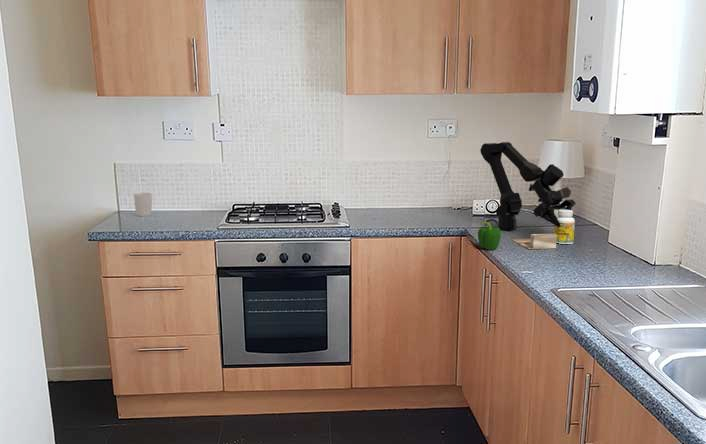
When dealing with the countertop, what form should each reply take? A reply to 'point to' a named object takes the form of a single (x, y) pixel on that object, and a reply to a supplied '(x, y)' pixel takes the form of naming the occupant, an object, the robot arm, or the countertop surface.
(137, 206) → the white cup
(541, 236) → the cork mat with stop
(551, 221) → the robot arm
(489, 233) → the bell pepper
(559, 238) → the supplement bottle
